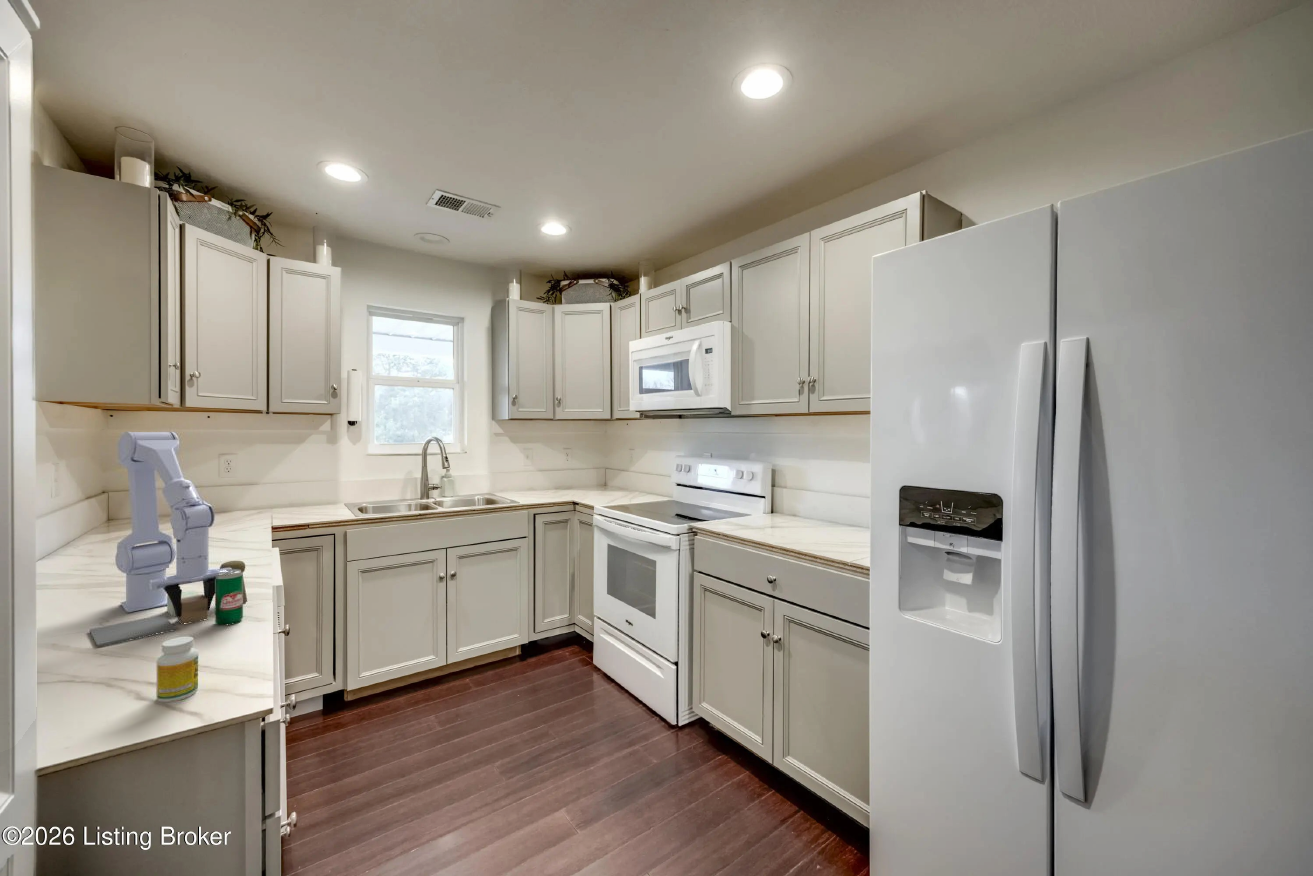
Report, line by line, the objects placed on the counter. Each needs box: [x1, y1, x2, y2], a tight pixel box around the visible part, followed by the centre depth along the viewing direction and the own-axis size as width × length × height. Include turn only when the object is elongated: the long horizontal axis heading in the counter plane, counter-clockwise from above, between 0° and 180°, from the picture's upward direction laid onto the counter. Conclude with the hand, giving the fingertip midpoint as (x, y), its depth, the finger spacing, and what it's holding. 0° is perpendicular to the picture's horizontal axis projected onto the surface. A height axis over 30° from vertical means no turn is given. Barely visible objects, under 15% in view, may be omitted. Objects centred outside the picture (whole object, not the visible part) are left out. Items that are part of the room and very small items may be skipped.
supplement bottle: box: [155, 636, 199, 703], centre depth 91 cm, size 5×5×10 cm
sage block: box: [166, 590, 200, 616], centre depth 129 cm, size 5×5×4 cm
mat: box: [89, 614, 176, 648], centre depth 116 cm, size 12×12×1 cm
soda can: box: [214, 569, 244, 626], centre depth 123 cm, size 5×5×12 cm
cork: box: [219, 560, 248, 605], centre depth 134 cm, size 6×6×11 cm
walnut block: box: [177, 593, 208, 625], centre depth 124 cm, size 4×4×5 cm
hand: (192, 612), depth 124 cm, fingers closed on walnut block, 4 cm apart
